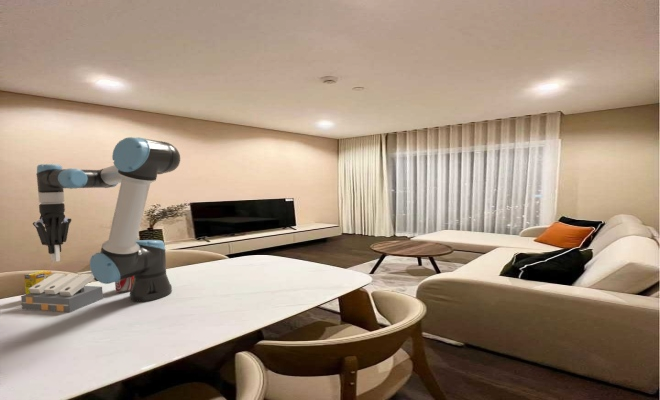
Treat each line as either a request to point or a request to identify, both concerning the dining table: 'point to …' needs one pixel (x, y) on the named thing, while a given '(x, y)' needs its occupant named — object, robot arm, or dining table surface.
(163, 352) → the dining table surface
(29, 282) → the supplement box
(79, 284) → the rocker
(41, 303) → the switch unit
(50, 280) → the rocker
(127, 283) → the beverage can
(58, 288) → the rocker
